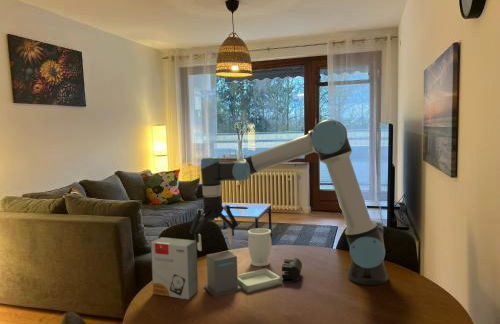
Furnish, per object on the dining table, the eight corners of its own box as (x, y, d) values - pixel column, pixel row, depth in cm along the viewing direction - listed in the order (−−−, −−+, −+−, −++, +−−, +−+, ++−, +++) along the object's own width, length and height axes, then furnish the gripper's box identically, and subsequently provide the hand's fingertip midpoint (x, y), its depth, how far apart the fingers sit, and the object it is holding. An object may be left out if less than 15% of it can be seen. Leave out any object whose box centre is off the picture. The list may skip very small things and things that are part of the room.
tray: (281, 283, 146) (281, 277, 145) (247, 292, 139) (247, 286, 138) (266, 273, 156) (266, 268, 156) (233, 281, 149) (233, 275, 149)
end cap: (300, 283, 146) (299, 266, 145) (282, 282, 147) (281, 265, 147) (302, 273, 156) (301, 257, 155) (285, 272, 157) (284, 257, 157)
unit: (241, 290, 141) (240, 256, 140) (214, 297, 136) (213, 262, 135) (230, 281, 150) (229, 249, 149) (204, 287, 145) (203, 254, 143)
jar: (257, 258, 176) (256, 226, 175) (276, 262, 170) (275, 229, 169) (244, 265, 167) (243, 232, 166) (263, 269, 161) (262, 235, 160)
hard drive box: (152, 294, 139) (149, 242, 138) (163, 286, 147) (161, 236, 145) (189, 300, 134) (186, 245, 132) (199, 291, 141) (196, 239, 140)
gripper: (236, 190, 160) (238, 239, 162) (179, 198, 149) (183, 250, 150) (243, 192, 154) (246, 243, 155) (185, 200, 142) (189, 255, 144)
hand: (215, 247), depth 153 cm, fingers open, 13 cm apart
